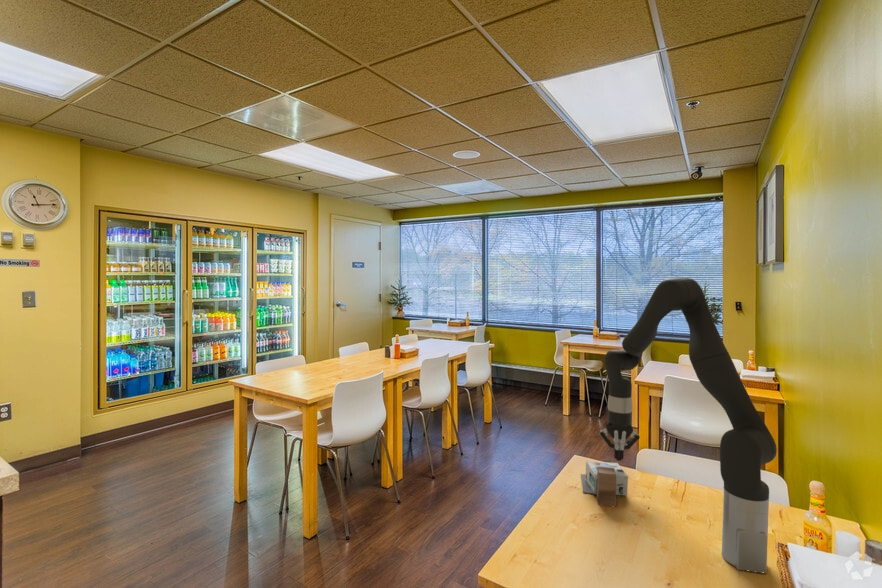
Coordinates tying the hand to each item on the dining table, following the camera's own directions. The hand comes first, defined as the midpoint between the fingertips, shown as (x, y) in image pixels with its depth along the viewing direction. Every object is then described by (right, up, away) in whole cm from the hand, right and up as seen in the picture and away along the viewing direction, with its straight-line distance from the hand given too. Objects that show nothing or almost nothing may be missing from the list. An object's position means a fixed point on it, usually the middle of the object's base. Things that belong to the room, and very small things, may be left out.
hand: (618, 460), depth 147 cm
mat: (-6, -9, +2) cm, 11 cm away
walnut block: (-8, -10, -9) cm, 15 cm away
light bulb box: (+1, -6, -1) cm, 6 cm away
